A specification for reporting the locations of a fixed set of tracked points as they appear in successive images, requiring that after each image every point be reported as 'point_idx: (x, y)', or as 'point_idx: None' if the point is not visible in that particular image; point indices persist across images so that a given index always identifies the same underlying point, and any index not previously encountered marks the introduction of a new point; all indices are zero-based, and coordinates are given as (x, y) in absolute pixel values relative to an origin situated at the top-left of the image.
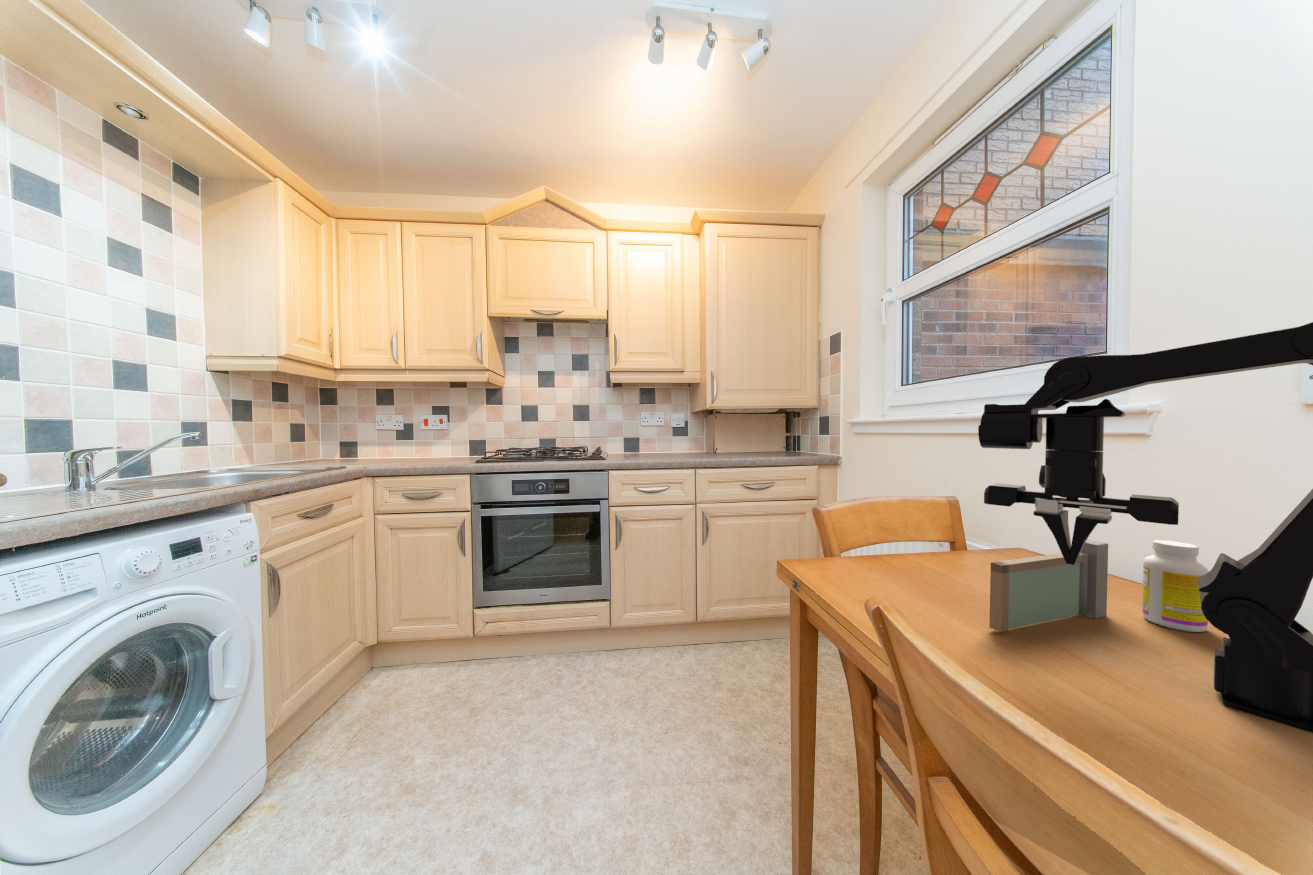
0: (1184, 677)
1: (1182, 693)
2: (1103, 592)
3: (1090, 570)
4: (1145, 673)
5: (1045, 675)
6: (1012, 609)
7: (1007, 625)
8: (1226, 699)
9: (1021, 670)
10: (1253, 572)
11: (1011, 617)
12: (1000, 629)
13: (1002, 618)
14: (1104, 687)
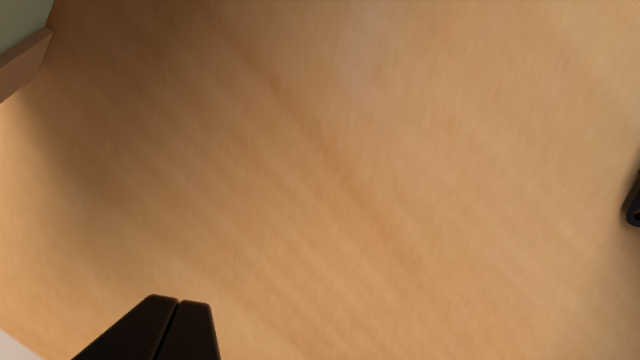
0: (611, 47)
1: (539, 196)
2: None
3: None
4: (486, 103)
5: (210, 307)
6: (12, 13)
7: (40, 41)
8: (637, 209)
9: None
10: None
11: (31, 5)
12: (30, 79)
13: (9, 88)
14: (342, 287)
